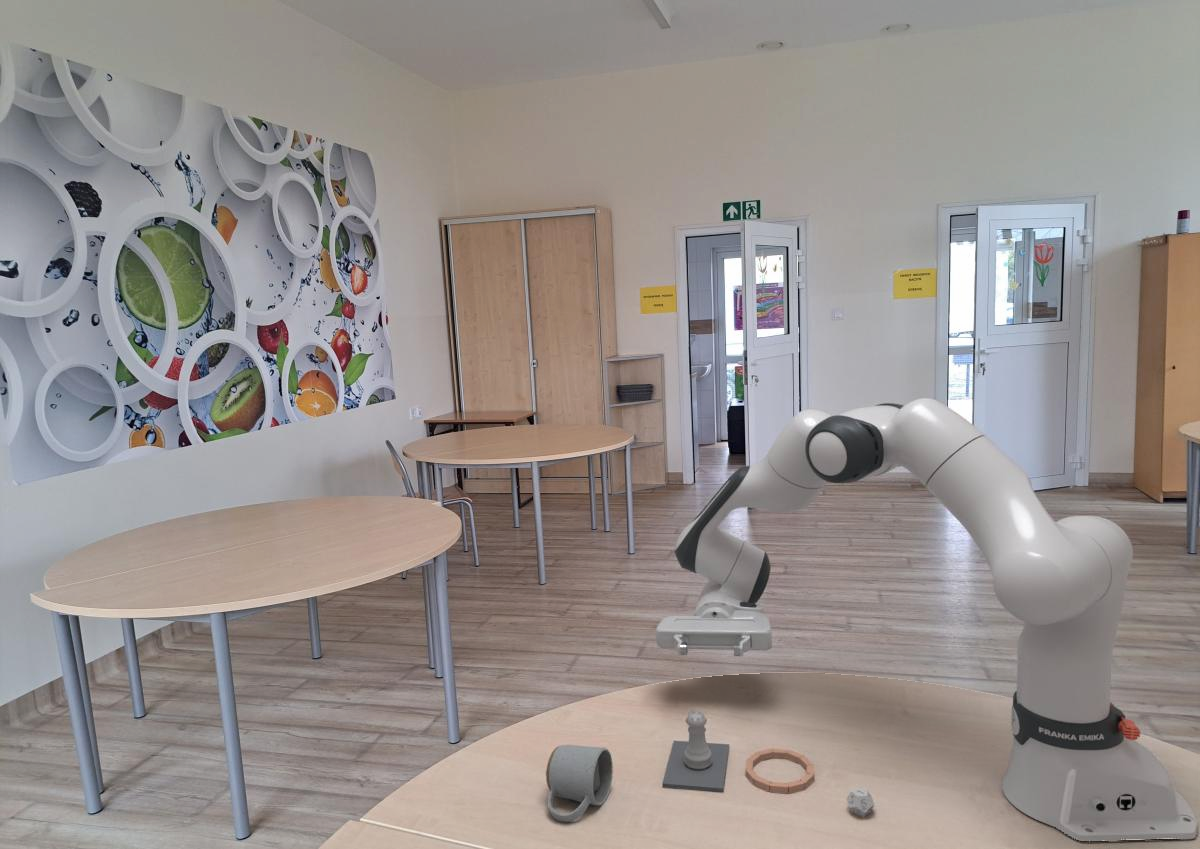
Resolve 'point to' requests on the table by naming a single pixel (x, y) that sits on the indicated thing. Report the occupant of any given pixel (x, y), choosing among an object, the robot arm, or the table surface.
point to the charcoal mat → (696, 779)
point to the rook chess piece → (697, 743)
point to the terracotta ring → (778, 786)
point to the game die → (860, 801)
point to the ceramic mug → (578, 777)
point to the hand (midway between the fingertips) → (709, 651)
